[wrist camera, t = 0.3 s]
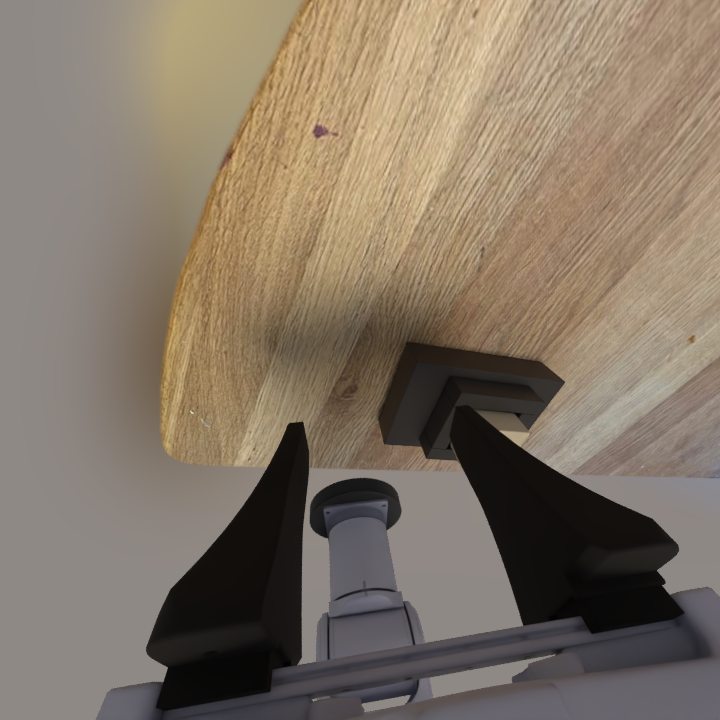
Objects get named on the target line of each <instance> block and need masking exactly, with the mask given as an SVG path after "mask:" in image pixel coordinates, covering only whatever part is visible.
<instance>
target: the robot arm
mask: <svg viewBox="0 0 720 720" xmlns="http://www.w3.org/2000/svg"><path fill="white" fill-rule="evenodd" d="M449 436H450V439H451V442H452V445H453V448H454V451H455V453H456V456H457V458H458V460H459V462H460V464H461V466H462V468H463V470H464V472H465V474H466V476H467V478H468V480H469V482H470V484H471V486H472V488H473V489H474V492H475V494H476V495H477V497H478V499H479V502H480V504H481V506H482V508H483V510H484V513H485V515H486V518H487V520H488V523H489V525H490V528H491V530H492V533H493V536H494V538H495V541H496V544H497V547H498V549H499V552H500V555H501V557H502V561H503V563H504V566H505V569H506V572H507V575H508V578H509V581H510V584H511V587H512V590H513V594H514V597H515V600H516V603H517V606H518V610H519V613H520V616H521V620H522V623H523V626H521V627H515V628H509V629H503V630H497V631H492V632H486V633H480V634H474V635H469V636H463V637H457V638H451V639H446V640H440V641H434V642H428V643H425V640H424V636H423V631H422V627H421V624H420V620H419V617H418V614H417V612H416V610H415V608H414V607H413V606H412V605H411V604H410V603H409V602H408V601H403V598H402V593H401V592H398V591H397V586H396V581H395V575H394V569H393V564H392V559H391V553H390V547H389V542H388V537H387V531H386V523H387V509H388V500H387V499H376V500H367V501H359V502H351V503H343V504H335V505H327V506H325V507H324V508H323V511H324V517H325V523H326V529H327V535H328V541H329V545H330V546H329V547H330V548H329V549H330V596H331V601H330V602H329V615H328V613H324V614H322V618H320V620H319V621H318V625H317V641H316V662H314V663H308V664H302V665H297V664H298V663H299V661H300V659H301V658H302V640H301V639H302V632H301V631H302V628H301V626H302V625H301V624H302V623H301V621H302V618H301V610H302V609H301V608H302V605H301V604H302V603H301V602H302V538H303V521H304V512H305V504H306V495H307V485H308V475H309V449H308V444H307V439H306V434H305V428H304V423H303V422H295V423H289V424H288V425H287V428H286V431H285V433H284V435H283V438H282V440H281V442H280V444H279V446H278V448H277V450H276V452H275V454H274V456H273V458H272V460H271V462H270V464H269V466H268V467H267V469H266V471H265V473H264V474H263V476H262V478H261V479H260V481H259V483H258V484H257V486H256V487H255V489H254V491H253V492H252V494H251V495H250V497H249V498H248V500H247V501H246V502H245V504H244V505H243V507H242V508H241V509H240V511H239V512H238V513H237V515H236V516H235V517H234V519H233V520H232V521H231V523H230V524H229V525H228V526H227V528H226V529H225V530H224V531H223V533H222V534H221V535H220V536H219V537H218V538H217V540H216V541H215V542H214V543H213V544H212V546H211V547H210V548H209V549H208V550H207V551H206V552H205V554H204V555H203V556H202V557H201V558H200V559H199V560H198V561H197V562H196V563H195V564H194V565H193V566H192V568H191V569H190V570H189V571H188V572H187V573H186V574H185V575H184V576H183V577H182V578H181V579H180V580H179V581H178V582H177V583H176V584H175V585H174V586H173V587H172V588H171V590H170V592H169V594H168V596H167V598H166V600H165V602H164V604H163V606H162V608H161V610H160V613H159V615H158V618H157V620H156V623H155V626H154V628H153V631H152V634H151V636H150V639H149V642H148V644H147V647H146V652H147V654H148V655H149V656H150V657H151V658H152V659H154V660H155V661H157V662H159V663H161V664H163V665H165V666H166V667H168V670H167V673H166V676H165V679H164V682H149V683H143V684H137V685H131V686H125V687H119V688H114V689H111V690H110V691H109V692H108V693H107V694H106V697H105V699H104V701H103V704H102V706H101V709H100V711H99V713H98V716H97V718H96V720H720V597H719V596H718V595H717V594H716V593H715V592H714V591H713V589H711V588H709V587H703V588H697V589H691V590H686V591H680V592H676V593H674V594H671V595H669V594H668V592H667V591H666V590H665V589H664V588H663V586H662V585H664V584H665V580H664V579H663V577H662V576H661V575H660V574H659V573H658V572H657V570H658V569H659V568H661V567H662V566H663V565H664V564H666V563H667V562H669V561H670V560H671V559H672V558H673V557H675V556H676V555H677V553H678V552H679V547H678V544H677V543H676V542H675V541H674V540H673V539H672V538H671V537H670V536H669V535H668V534H667V533H666V532H665V531H664V530H663V529H662V528H661V527H660V526H659V525H658V524H657V523H656V522H655V521H654V520H653V519H651V518H649V517H647V516H644V515H642V514H640V513H638V512H635V511H633V510H631V509H628V508H626V507H624V506H622V505H620V504H617V503H615V502H613V501H611V500H609V499H607V498H605V497H603V496H601V495H599V494H597V493H595V492H593V491H591V490H589V489H587V488H585V487H583V486H581V485H580V484H578V483H576V482H574V481H573V480H571V479H569V478H567V477H566V476H564V475H562V474H560V473H559V472H557V471H555V470H554V469H552V468H551V467H549V466H547V465H546V464H544V463H543V462H541V461H540V460H538V459H537V458H535V457H534V456H532V455H531V454H529V453H528V452H527V451H525V450H524V449H522V448H521V447H520V446H518V445H517V444H516V443H514V442H513V441H512V440H510V439H509V438H508V437H506V436H505V435H504V434H503V433H501V432H500V431H499V430H498V429H496V428H495V427H494V426H493V425H492V424H490V423H489V422H488V421H487V420H486V419H484V418H483V417H482V416H481V415H480V414H479V413H477V412H476V411H475V410H474V409H473V408H471V407H470V406H469V405H462V406H456V407H455V412H454V416H453V421H452V425H451V430H450V435H449ZM554 654H555V656H553V657H549V658H546V659H543V660H539V661H536V662H533V663H530V664H529V665H528V668H527V669H525V670H524V671H523V672H521V673H519V674H517V675H515V676H513V677H512V682H513V683H511V684H504V685H498V686H493V687H487V688H481V689H476V690H471V691H466V692H461V693H456V694H451V695H446V696H442V697H437V698H433V695H432V690H431V685H430V679H429V677H434V676H440V675H445V674H450V673H456V672H462V671H467V670H473V669H478V668H483V667H489V666H494V665H500V664H505V663H510V662H516V661H521V660H527V659H531V658H537V657H543V656H548V655H554ZM406 695H411V696H410V698H409V700H408V702H407V703H406V704H405V705H402V706H397V707H391V708H386V709H381V710H375V711H370V712H365V713H364V708H363V707H362V705H361V704H362V703H367V702H373V701H379V700H384V699H389V698H395V697H400V696H406ZM315 698H317V701H314V702H313V701H312V700H311V699H315Z"/></svg>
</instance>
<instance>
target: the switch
mask: <svg viewBox="0 0 720 720" xmlns="http://www.w3.org/2000/svg"><path fill="white" fill-rule="evenodd" d="M474 410H475V411H476V412H477V413H479V414H480V415H481V416H482V417H483V418H484V419H486V420H487V421H488V422H489V423H490V424H492V425H493V426H494V427H495V428H496V429H498V430H499V431H500V432H501V433H503V434H504V435H505V436H506V437H508V438H509V439H510V440H512V441H513V442H514V443H516V444H517V445H518V446H521V445H522V444H523V442H524V441H525V440H526V438H527V437H528V436H529V435H530V432H529V431H528V430H527V428H526V427H525V426H524V425H523V423H522V422H521V421H520V420H519V419H518V417H517V416H516V415H515V414H514V413H510V412H500V411H490V410H481V409H474ZM450 446H451V448H452V450H453V452H454V454H455V456H456V453H455V451H454V448H453V445H452V442H450ZM456 458H457V456H456ZM457 460H458V458H457ZM458 462H459V460H458ZM459 464H460V462H459ZM460 465H461V464H460Z"/></svg>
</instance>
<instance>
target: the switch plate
mask: <svg viewBox="0 0 720 720" xmlns="http://www.w3.org/2000/svg"><path fill="white" fill-rule="evenodd" d="M564 383H565V381H563V380H562V379H561V378H560V377H559V376H557V375H556V374H555V373H554V372H553V371H551V370H550V369H549V368H548V367H547V366H545V365H544V364H543V363H542V362H536V361H529V360H522V359H516V358H509V357H503V356H496V355H489V354H483V353H476V352H470V351H463V350H457V349H450V348H443V347H437V346H430V345H424V344H417V343H411V342H407V343H406V346H405V349H404V351H403V354H402V357H401V360H400V362H399V365H398V368H397V371H396V373H395V376H394V379H393V382H392V385H391V387H390V390H389V393H388V396H387V398H386V401H385V404H384V407H383V409H382V412H381V415H380V418H379V424H380V428H381V432H382V436H383V441H384V444H388V445H403V446H419V447H422V449H423V451H424V454H425V457H426V459H440V460H457V458H456V456H455V454H454V452H453V450H452V448H451V446H450V442H451V439H450V436H449V435H450V430H451V425H452V421H453V416H454V412H455V407H456V406H462V405H469V406H470V407H471V408H473V409H481V410H490V411H500V412H510V413H514V414H515V415H516V416H517V417H518V419H519V420H520V421H521V422H522V423H523V425H524V426H525V427H526V428H527V430H529V429H530V428H531V426H532V425H533V424H534V422H535V421H536V420H537V418H538V417H539V416H540V415H541V413H542V412H543V411H544V409H545V408H546V407H547V405H548V404H549V403H550V402H551V400H552V399H553V398H554V396H555V395H556V394H557V392H558V391H559V390H560V388H561V387H562V386H563V385H564Z"/></svg>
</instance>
